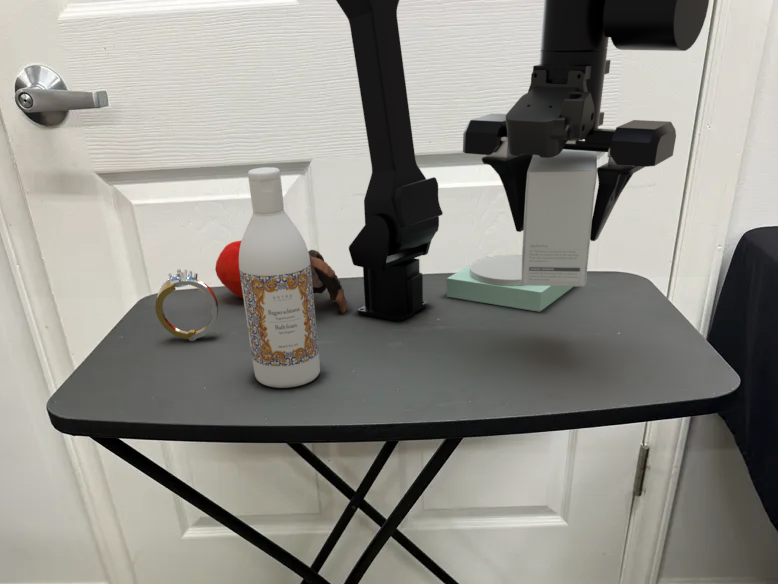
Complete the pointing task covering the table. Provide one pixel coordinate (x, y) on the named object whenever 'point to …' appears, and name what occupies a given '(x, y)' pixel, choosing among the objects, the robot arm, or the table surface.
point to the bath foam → (277, 289)
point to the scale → (501, 284)
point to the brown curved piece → (326, 280)
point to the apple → (230, 268)
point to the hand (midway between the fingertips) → (556, 235)
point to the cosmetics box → (558, 218)
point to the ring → (169, 287)
